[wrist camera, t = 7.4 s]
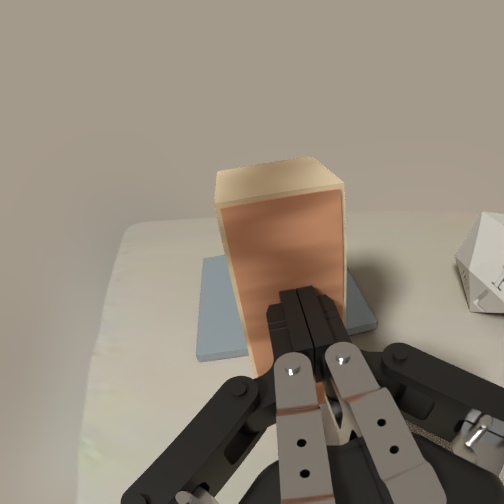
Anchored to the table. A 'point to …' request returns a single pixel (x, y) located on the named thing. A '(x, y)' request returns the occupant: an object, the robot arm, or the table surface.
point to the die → (484, 264)
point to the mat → (228, 320)
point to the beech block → (281, 242)
